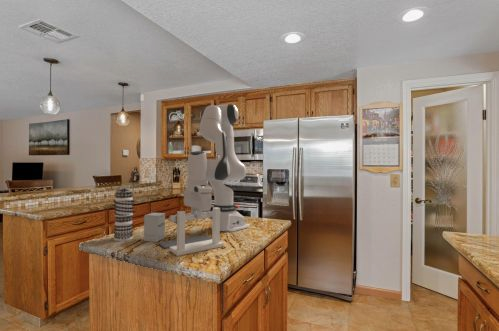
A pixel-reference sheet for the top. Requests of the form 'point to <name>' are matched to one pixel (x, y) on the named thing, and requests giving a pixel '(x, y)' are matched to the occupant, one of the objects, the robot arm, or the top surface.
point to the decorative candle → (123, 214)
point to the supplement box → (154, 227)
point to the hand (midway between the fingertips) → (196, 217)
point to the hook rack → (200, 245)
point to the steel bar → (192, 216)
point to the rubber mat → (187, 240)
